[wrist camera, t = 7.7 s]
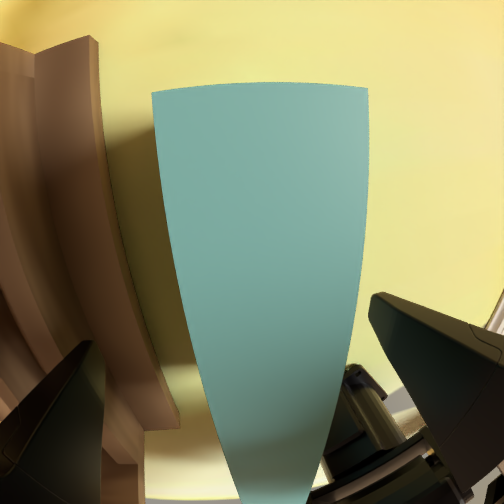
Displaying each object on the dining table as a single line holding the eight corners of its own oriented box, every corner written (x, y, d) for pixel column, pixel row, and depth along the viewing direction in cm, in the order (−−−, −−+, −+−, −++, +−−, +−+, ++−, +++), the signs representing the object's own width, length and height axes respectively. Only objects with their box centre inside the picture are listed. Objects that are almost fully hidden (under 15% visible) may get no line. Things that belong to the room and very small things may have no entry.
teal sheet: (233, 113, 10) (368, 88, 2) (252, 356, 16) (303, 508, 8) (180, 118, 10) (151, 92, 2) (216, 362, 15) (249, 521, 7)
